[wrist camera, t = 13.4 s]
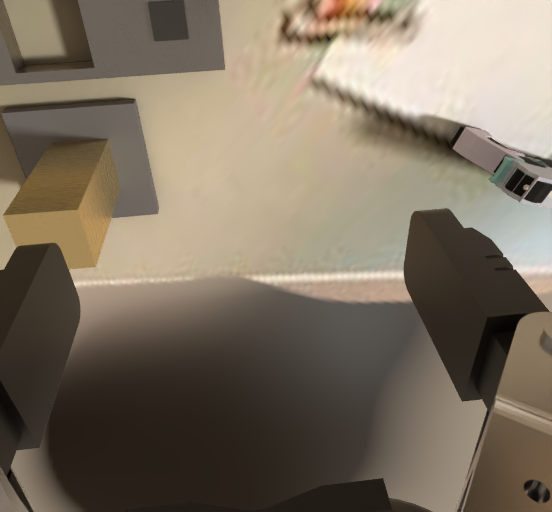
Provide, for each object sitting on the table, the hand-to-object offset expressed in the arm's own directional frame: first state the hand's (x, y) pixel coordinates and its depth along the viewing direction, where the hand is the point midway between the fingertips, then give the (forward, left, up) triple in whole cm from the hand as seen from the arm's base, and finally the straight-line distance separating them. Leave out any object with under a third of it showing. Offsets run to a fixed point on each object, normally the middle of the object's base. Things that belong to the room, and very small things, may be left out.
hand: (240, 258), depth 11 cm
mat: (-4, -16, -30) cm, 34 cm away
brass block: (-4, -16, -29) cm, 33 cm away
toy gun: (+30, +4, -30) cm, 43 cm away
